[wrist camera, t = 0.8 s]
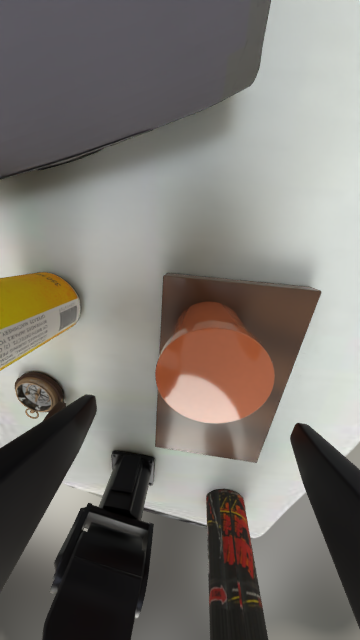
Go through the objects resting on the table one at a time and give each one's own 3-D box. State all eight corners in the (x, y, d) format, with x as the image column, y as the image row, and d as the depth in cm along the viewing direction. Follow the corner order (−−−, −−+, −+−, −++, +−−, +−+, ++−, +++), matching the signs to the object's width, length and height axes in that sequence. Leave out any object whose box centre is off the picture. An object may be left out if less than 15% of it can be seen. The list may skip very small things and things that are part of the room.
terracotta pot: (238, 370, 18) (258, 431, 12) (168, 361, 19) (153, 415, 12) (255, 301, 15) (291, 335, 9) (173, 293, 16) (157, 320, 10)
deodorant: (248, 508, 30) (291, 738, 16) (213, 512, 31) (225, 726, 17) (237, 486, 28) (274, 724, 14) (200, 491, 29) (202, 712, 15)
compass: (23, 362, 23) (-50, 410, 16) (82, 390, 24) (35, 446, 17) (15, 402, 26) (-51, 457, 19) (67, 425, 27) (22, 486, 20)
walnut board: (252, 448, 24) (256, 463, 23) (157, 434, 25) (155, 447, 24) (309, 286, 16) (322, 291, 15) (166, 272, 17) (163, 275, 15)
